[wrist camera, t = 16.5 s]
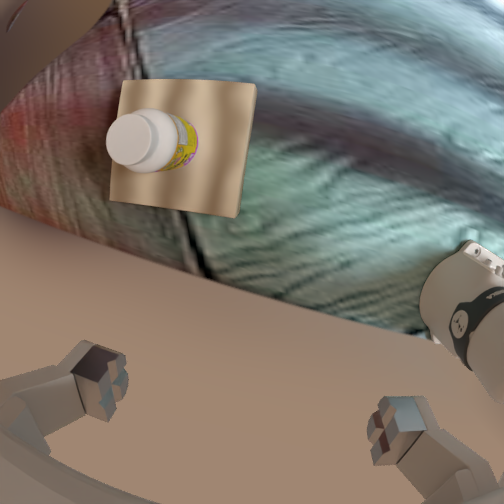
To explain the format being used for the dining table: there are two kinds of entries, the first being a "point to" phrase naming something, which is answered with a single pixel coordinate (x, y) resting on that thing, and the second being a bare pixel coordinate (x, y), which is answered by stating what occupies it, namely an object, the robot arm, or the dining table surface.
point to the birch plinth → (209, 151)
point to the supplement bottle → (152, 141)
